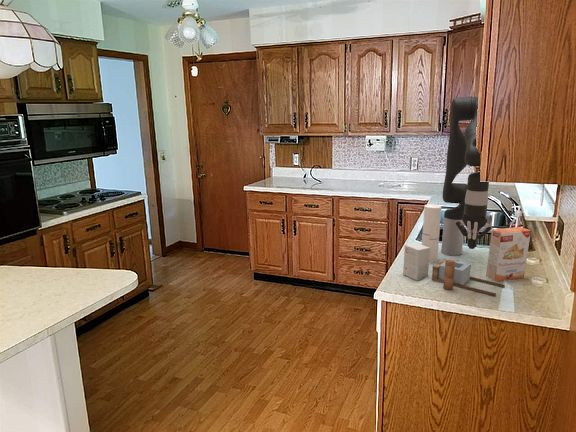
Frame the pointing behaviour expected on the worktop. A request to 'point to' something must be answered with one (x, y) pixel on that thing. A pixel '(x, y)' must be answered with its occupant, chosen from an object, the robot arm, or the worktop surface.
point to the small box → (416, 261)
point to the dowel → (449, 274)
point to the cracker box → (508, 253)
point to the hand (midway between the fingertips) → (471, 248)
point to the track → (435, 278)
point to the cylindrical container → (431, 230)
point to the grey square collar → (457, 272)
